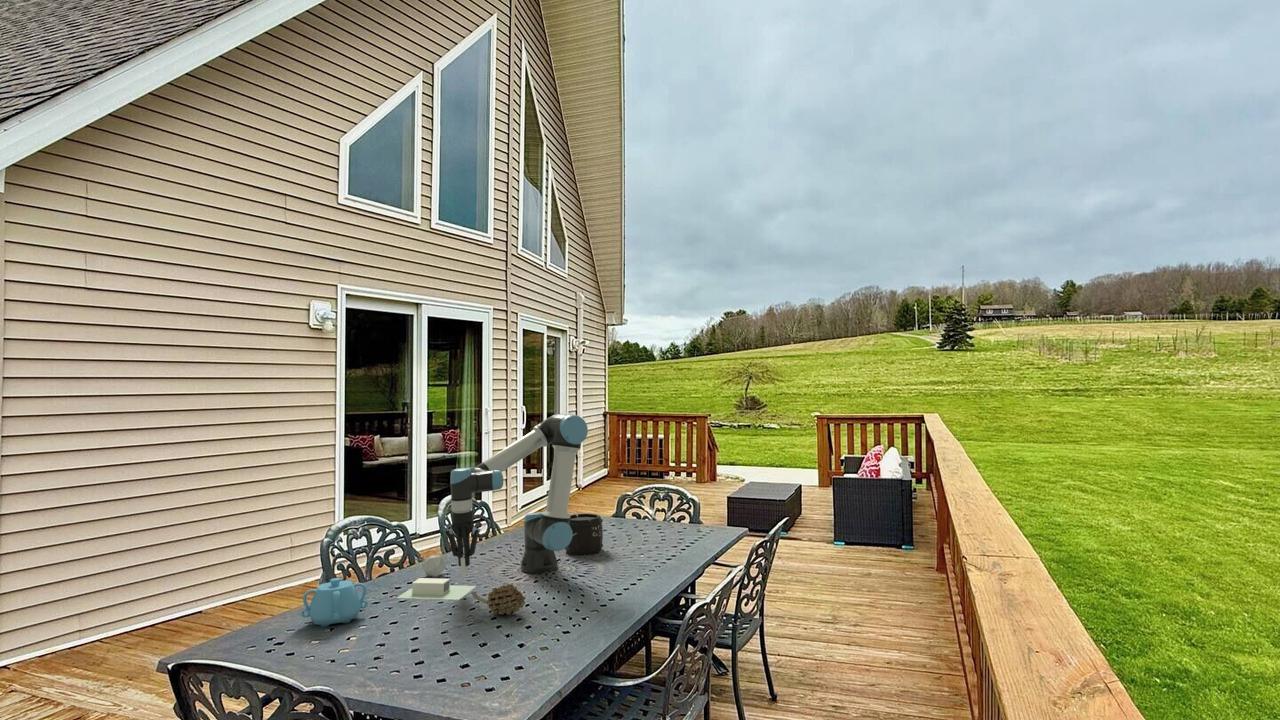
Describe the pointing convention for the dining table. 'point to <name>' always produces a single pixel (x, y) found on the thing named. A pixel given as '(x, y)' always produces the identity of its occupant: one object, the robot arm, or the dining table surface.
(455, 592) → the green mat
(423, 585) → the beige rectangular block
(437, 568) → the die
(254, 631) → the dining table surface
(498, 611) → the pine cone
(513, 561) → the dining table surface
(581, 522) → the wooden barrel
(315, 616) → the decorative pot
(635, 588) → the dining table surface
